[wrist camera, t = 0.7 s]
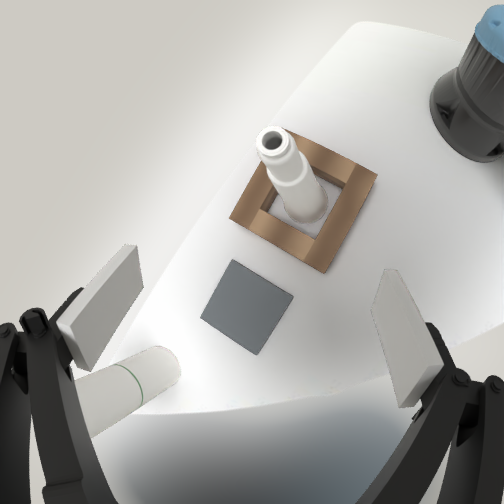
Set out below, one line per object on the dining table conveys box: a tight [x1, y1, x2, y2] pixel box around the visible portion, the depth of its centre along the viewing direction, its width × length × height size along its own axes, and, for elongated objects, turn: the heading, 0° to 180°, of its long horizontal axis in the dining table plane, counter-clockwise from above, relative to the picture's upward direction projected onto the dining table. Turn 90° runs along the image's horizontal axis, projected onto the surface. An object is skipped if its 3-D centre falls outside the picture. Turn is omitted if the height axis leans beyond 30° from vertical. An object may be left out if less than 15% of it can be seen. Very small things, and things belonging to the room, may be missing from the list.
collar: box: [229, 129, 377, 274], centre depth 38 cm, size 14×14×4 cm
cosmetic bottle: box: [256, 126, 328, 224], centre depth 29 cm, size 6×6×22 cm
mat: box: [200, 260, 293, 355], centre depth 41 cm, size 10×10×1 cm
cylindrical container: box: [74, 346, 181, 439], centre depth 33 cm, size 7×7×25 cm
